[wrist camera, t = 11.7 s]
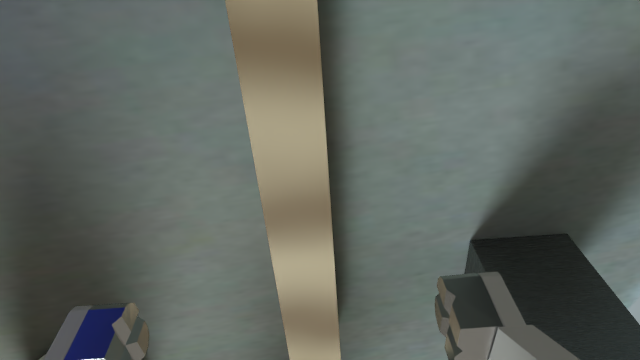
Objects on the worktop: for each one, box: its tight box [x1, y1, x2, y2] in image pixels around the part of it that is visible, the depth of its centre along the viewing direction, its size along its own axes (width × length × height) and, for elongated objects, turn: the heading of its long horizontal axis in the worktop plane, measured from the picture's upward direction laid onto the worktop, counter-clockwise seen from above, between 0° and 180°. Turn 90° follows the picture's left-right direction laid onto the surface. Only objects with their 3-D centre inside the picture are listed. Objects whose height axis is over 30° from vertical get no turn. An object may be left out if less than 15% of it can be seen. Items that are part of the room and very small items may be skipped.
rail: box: [225, 0, 341, 360], centre depth 18 cm, size 22×3×3 cm, turn 4°
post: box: [465, 234, 640, 360], centre depth 18 cm, size 4×5×10 cm
